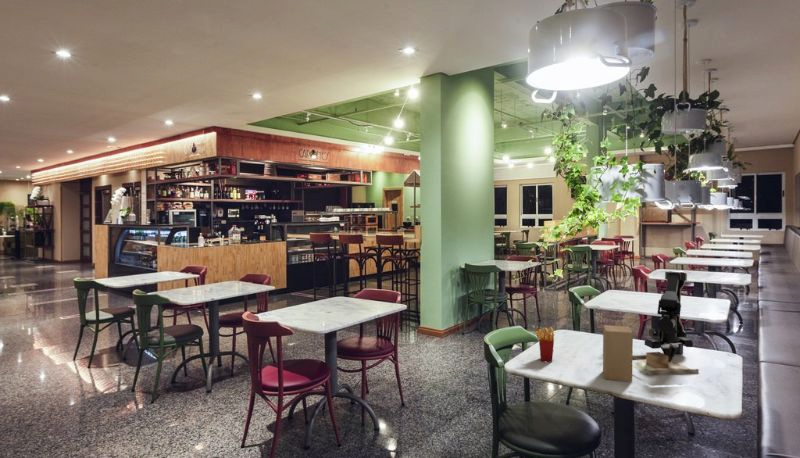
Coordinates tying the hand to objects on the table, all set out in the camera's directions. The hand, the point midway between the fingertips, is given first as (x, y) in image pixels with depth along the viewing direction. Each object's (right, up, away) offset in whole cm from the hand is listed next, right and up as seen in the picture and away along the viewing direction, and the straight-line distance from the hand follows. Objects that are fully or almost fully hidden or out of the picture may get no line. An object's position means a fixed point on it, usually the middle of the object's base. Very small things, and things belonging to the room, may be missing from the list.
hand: (668, 362), depth 199 cm
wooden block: (-27, -3, -10) cm, 29 cm away
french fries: (-50, -2, +12) cm, 51 cm away
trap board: (-5, -2, 0) cm, 5 cm away
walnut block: (-5, -1, 0) cm, 5 cm away
